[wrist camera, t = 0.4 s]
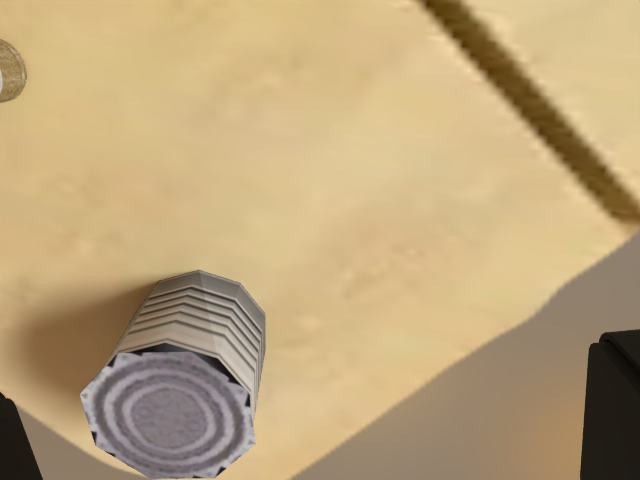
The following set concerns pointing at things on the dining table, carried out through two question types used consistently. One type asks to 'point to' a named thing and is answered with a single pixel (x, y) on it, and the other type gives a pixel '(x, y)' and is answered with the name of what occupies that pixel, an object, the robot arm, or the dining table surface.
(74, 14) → the dining table surface
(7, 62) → the sprinkles bottle
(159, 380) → the can
